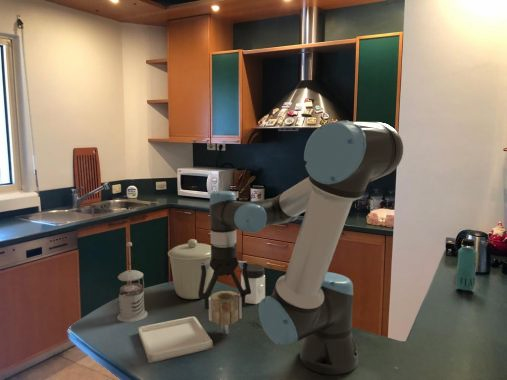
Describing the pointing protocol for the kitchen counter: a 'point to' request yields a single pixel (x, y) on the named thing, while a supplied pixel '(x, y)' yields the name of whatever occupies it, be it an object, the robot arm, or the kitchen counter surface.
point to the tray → (174, 339)
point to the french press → (131, 296)
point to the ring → (225, 307)
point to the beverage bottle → (466, 266)
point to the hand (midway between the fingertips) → (225, 317)
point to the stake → (225, 329)
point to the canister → (190, 268)
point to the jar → (254, 283)
